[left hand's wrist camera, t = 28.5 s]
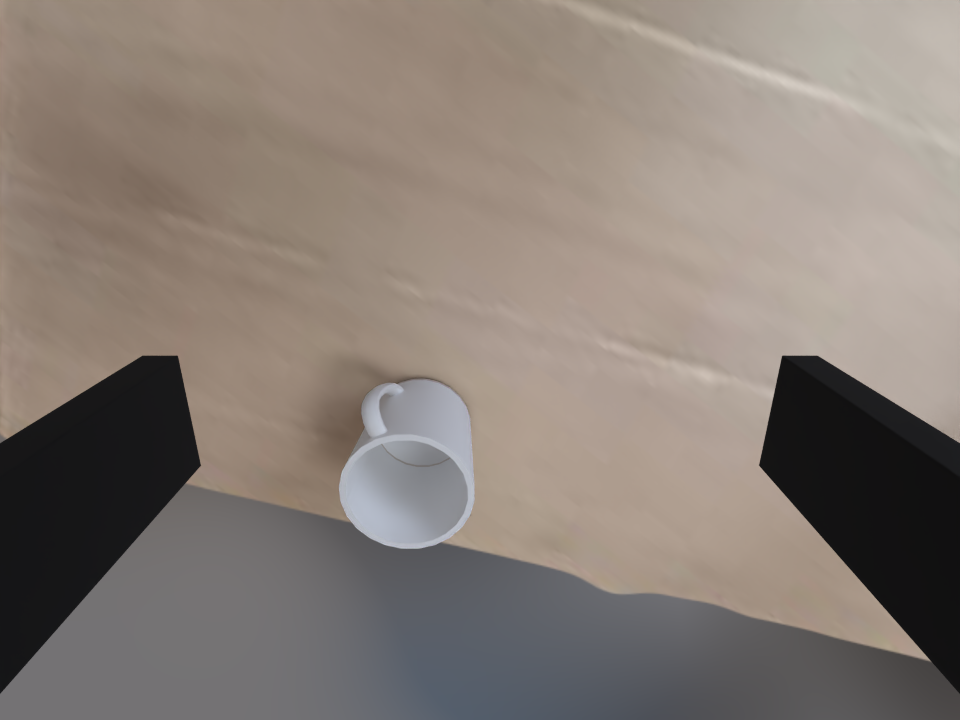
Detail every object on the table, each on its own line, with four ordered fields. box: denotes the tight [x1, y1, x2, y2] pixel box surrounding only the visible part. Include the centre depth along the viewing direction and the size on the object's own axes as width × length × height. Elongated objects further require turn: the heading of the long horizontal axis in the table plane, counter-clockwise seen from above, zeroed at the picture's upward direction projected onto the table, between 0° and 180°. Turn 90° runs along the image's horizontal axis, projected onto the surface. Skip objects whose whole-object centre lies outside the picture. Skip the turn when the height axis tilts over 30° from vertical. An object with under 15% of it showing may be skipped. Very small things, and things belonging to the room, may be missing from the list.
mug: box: [339, 379, 474, 549], centre depth 41 cm, size 11×9×10 cm
